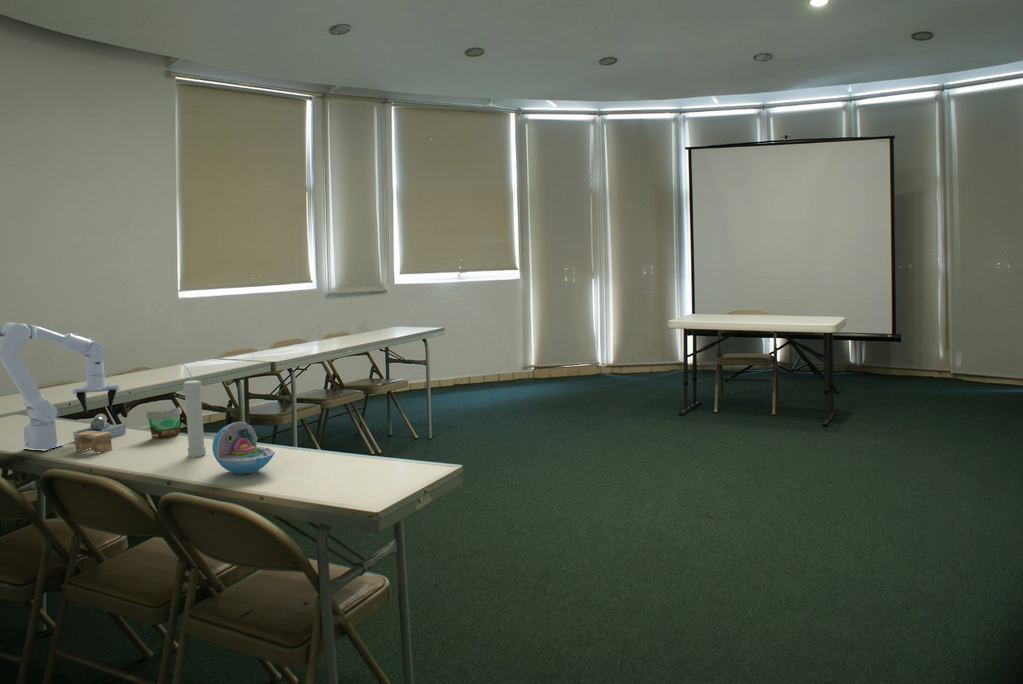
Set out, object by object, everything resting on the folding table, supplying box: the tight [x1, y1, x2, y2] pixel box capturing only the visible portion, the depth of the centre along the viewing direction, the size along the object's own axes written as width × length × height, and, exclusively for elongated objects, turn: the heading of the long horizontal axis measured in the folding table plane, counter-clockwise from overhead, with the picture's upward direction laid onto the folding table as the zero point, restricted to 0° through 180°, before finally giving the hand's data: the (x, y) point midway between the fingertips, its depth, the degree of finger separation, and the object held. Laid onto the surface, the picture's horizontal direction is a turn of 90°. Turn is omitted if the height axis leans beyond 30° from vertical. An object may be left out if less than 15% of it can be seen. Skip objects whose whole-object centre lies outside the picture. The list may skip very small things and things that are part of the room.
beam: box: [74, 431, 113, 453], centre depth 246 cm, size 10×5×6 cm, turn 73°
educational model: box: [211, 421, 276, 475], centre depth 218 cm, size 16×19×15 cm
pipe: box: [180, 363, 206, 458], centre depth 237 cm, size 6×6×30 cm
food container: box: [146, 405, 182, 440], centre depth 263 cm, size 12×6×10 cm, turn 143°
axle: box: [89, 413, 108, 431], centre depth 264 cm, size 4×12×4 cm, turn 21°
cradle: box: [72, 422, 127, 441], centre depth 264 cm, size 9×14×4 cm, turn 163°
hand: (98, 411), depth 263 cm, fingers open, 7 cm apart
